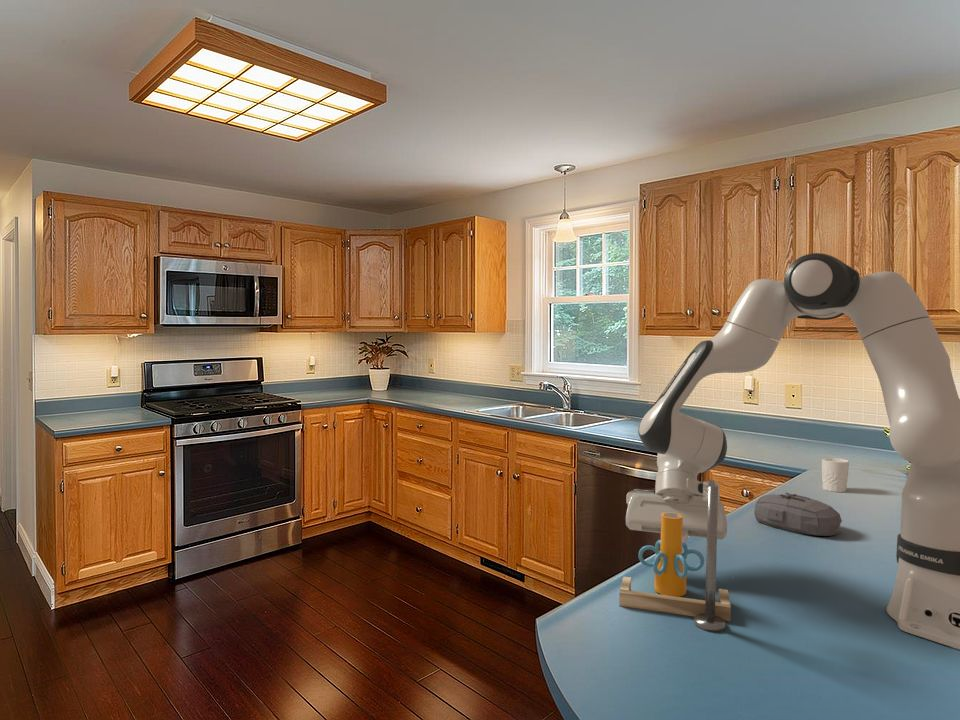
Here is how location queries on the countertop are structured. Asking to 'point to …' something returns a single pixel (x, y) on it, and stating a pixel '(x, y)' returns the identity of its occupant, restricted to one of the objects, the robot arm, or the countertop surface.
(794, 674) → the countertop surface
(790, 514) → the grey rounded bag
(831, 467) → the white cup
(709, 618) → the round-based metal post
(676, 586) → the vase
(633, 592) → the yoke
